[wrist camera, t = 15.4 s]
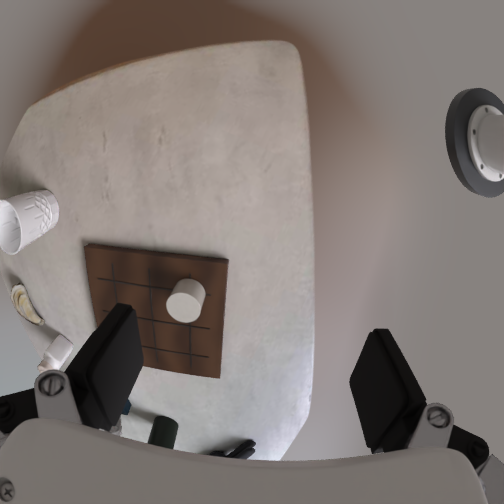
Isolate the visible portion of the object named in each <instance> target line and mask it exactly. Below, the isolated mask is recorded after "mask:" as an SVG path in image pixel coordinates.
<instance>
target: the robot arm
mask: <svg viewBox="0 0 504 504" xmlns="http://www.w3.org/2000/svg"><path fill="white" fill-rule="evenodd" d="M467 137H468V148H469V152H470V156H471V159H472V162H473V164H474V166H475V168H476V169H477V171H478V172H479V174H480V175H481V176H482V177H484V178H485V179H487V180H490V181H495V182H496V181H500V180H502V179H503V178H504V115H503V114H502V113H501V112H500V111H499V110H498V109H497V108H495V107H493V106H490V105H482V106H479V107H477V108H476V109H475V110H474V111H473V113H472V115H471V117H470V120H469V124H468V131H467ZM143 363H144V357H143V351H142V346H141V340H140V334H139V328H138V321H137V314H136V310H135V309H133V308H132V306H131V305H129V304H124V303H117V304H116V305H115V306H114V307H113V308H112V310H111V311H110V312H109V314H108V315H107V316H106V317H105V319H104V320H103V321H102V323H101V324H100V325H99V327H98V328H97V329H96V330H95V331H94V332H93V333H92V334H91V336H90V337H89V338H88V340H87V341H86V342H85V344H84V345H83V347H82V348H81V349H80V351H79V352H78V353H77V355H76V356H75V358H74V359H73V360H72V362H71V363H70V365H69V366H68V368H67V369H66V370H65V372H62V371H60V370H55V369H52V370H47V371H44V372H43V373H41V374H40V375H39V376H38V377H37V378H36V380H35V383H34V388H32V389H29V390H25V391H21V392H17V393H13V394H10V395H5V396H1V397H0V504H504V464H503V463H502V462H501V461H500V460H498V458H496V457H495V456H494V455H493V454H492V455H491V456H489V447H488V445H487V443H486V442H485V441H484V440H483V439H482V438H480V437H478V436H476V435H474V434H472V433H469V432H468V431H465V430H463V429H461V428H459V427H457V426H455V425H453V423H454V417H453V414H452V412H451V411H450V409H448V408H447V407H446V406H445V405H443V404H440V403H431V404H428V405H427V403H426V398H425V396H424V394H423V392H422V390H421V388H420V386H419V384H418V382H417V380H416V378H415V376H414V374H413V372H412V370H411V369H410V367H409V365H408V363H407V361H406V360H405V358H404V356H403V354H402V352H401V350H400V348H399V347H398V345H397V343H396V341H395V340H394V338H393V336H392V334H391V333H390V331H389V330H388V329H374V330H373V332H370V333H369V335H368V337H367V340H366V342H365V345H364V347H363V349H362V352H361V354H360V356H359V359H358V361H357V363H356V366H355V368H354V370H353V372H352V375H351V377H350V382H349V383H350V388H351V391H352V394H353V398H354V401H355V405H356V408H357V412H358V416H359V419H360V422H361V426H362V430H363V434H364V438H365V441H366V445H367V447H368V448H371V452H372V454H373V455H366V456H358V457H350V458H340V459H328V460H308V461H267V460H248V459H235V458H225V457H217V456H209V455H202V454H196V453H190V452H184V451H179V450H173V449H169V448H164V447H159V446H155V445H151V444H147V443H143V442H139V441H135V440H132V439H128V438H124V437H121V436H117V435H114V434H111V433H108V432H110V430H111V427H112V426H116V424H117V422H118V420H119V418H120V415H121V413H122V411H123V409H124V406H125V404H126V402H127V399H128V397H129V395H130V393H131V390H132V388H133V386H134V384H135V382H136V379H137V377H138V375H139V373H140V371H141V369H142V366H143ZM99 429H102V430H105V431H108V432H105V431H102V430H99ZM381 452H384V453H381ZM376 453H380V454H376Z"/></svg>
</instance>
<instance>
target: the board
mask: <svg viewBox="0 0 504 504" xmlns="http://www.w3.org/2000/svg"><path fill="white" fill-rule="evenodd" d="M84 250H85V259H86V266H87V274H88V280H89V286H90V292H91V298H92V303H93V308H94V313H95V318H96V323H97V327H99V325H100V324H101V323H102V321H103V320H104V319H105V317H106V316H107V315H108V314H109V312H110V311H111V310H112V308H113V307H114V306H115V305H116V304H117V303H124V304H129V305H131V306H132V308H133V309H135V310H136V314H137V321H138V328H139V334H140V340H141V346H142V351H143V357H144V363H143V366H146V367H150V368H155V369H161V370H166V371H172V372H177V373H183V374H190V375H196V376H204V377H211V378H219V379H220V374H221V359H222V343H223V328H224V314H225V301H226V288H227V275H228V263H229V260H228V259H218V258H209V257H200V256H191V255H182V254H173V253H165V252H156V251H147V250H139V249H130V248H122V247H113V246H105V245H97V244H87V245H86V246H85V247H84ZM182 279H193V280H196V281H197V282H199V283H200V284H201V285H202V286H203V288H204V290H205V300H204V303H203V306H202V310H201V313H200V315H199V317H198V318H197V319H196V320H195V321H192V322H188V323H185V322H180V321H177V320H175V319H174V318H173V317H172V316H171V315H170V314H169V313H168V311H167V307H166V303H167V300H168V298H169V296H170V294H171V292H172V290H173V288H174V286H175V285H176V283H177V282H178V281H180V280H182Z"/></svg>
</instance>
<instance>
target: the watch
mask: <svg viewBox="0 0 504 504" xmlns="http://www.w3.org/2000/svg"><path fill="white" fill-rule="evenodd" d="M130 408H131V403H130V402H129V400H128V399H127V402H126V404H125V406H124V409H123V411H122V413H121V414H124V415H128V413H129V410H130ZM121 429H122V426H121V416H120V418H119V420H118V422H117V424H116V426H112V427H111V430H110V432H108V431H105V430H102V429H99V430H102V431H105V432H108V433H111V434H114V435H117V436H120V435H122V432H121Z"/></svg>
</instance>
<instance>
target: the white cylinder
mask: <svg viewBox="0 0 504 504" xmlns="http://www.w3.org/2000/svg"><path fill="white" fill-rule="evenodd" d="M204 300H205V290H204V288H203V286H202V285H201V284H200V283H199V282H197V281H196V280H193V279H182V280H180V281H178V282H177V283H176V285H175V286H174V288H173V290H172V292H171V294H170V296H169V298H168V300H167V303H166V307H167V311H168V313H169V314H170V315H171V316H172V317H173V318H174V319H175V320H177V321H180V322H185V323H188V322H192V321H195V320H196V319H197V318H198V317H199V315H200V313H201V310H202V306H203V303H204Z"/></svg>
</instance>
